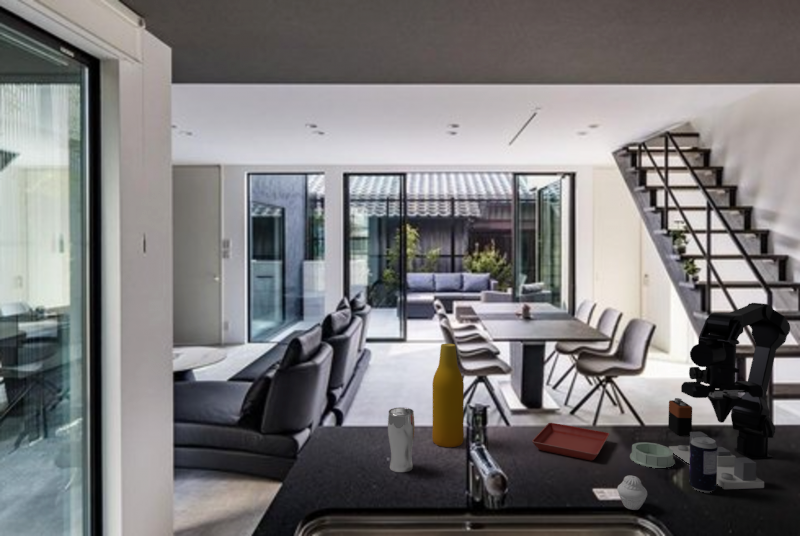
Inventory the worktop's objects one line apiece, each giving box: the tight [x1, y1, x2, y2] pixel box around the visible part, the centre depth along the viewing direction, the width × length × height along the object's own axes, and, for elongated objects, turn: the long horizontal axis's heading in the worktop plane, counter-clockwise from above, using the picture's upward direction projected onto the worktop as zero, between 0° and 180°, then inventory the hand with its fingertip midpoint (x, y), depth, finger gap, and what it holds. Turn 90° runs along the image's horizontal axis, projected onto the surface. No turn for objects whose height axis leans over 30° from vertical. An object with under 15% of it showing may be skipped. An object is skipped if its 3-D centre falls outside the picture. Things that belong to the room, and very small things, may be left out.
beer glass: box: [387, 407, 415, 473], centre depth 139 cm, size 7×7×15 cm
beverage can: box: [688, 436, 718, 494], centre depth 126 cm, size 6×6×12 cm
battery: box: [667, 397, 693, 436], centre depth 164 cm, size 4×7×10 cm, turn 176°
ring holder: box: [629, 442, 676, 469], centre depth 143 cm, size 11×11×3 cm
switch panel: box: [668, 431, 765, 490], centre depth 138 cm, size 23×10×6 cm, turn 4°
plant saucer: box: [531, 422, 610, 461], centre depth 153 cm, size 18×18×3 cm
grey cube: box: [717, 446, 732, 456], centre depth 138 cm, size 3×3×3 cm
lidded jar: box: [617, 475, 648, 511], centre depth 118 cm, size 6×6×7 cm
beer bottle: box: [431, 343, 465, 448], centre depth 156 cm, size 9×9×29 cm
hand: (720, 422), depth 138 cm, fingers closed
